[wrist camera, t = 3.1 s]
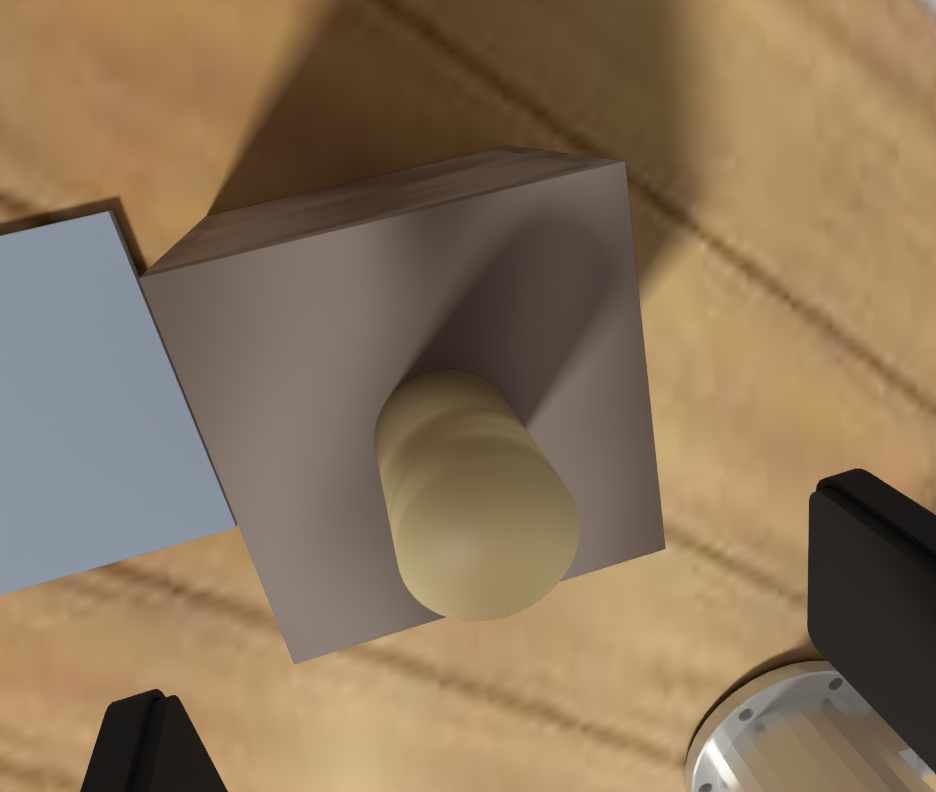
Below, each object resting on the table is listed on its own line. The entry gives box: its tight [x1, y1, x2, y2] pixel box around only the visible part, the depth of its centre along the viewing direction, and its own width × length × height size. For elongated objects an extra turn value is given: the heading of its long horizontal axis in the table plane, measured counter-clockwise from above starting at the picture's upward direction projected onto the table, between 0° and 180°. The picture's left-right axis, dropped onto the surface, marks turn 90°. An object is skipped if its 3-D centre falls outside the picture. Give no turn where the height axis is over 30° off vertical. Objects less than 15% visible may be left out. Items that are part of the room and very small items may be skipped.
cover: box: [139, 146, 665, 664], centre depth 20 cm, size 11×11×16 cm
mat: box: [0, 210, 237, 595], centre depth 25 cm, size 13×13×1 cm
